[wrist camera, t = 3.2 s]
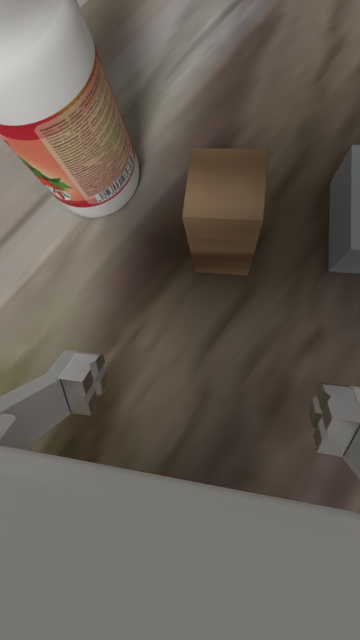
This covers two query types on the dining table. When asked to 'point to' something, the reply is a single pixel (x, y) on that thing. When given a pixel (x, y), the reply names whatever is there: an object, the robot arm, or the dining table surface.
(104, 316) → the dining table surface
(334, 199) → the slate grey base block
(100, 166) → the fruit juice
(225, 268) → the walnut block
